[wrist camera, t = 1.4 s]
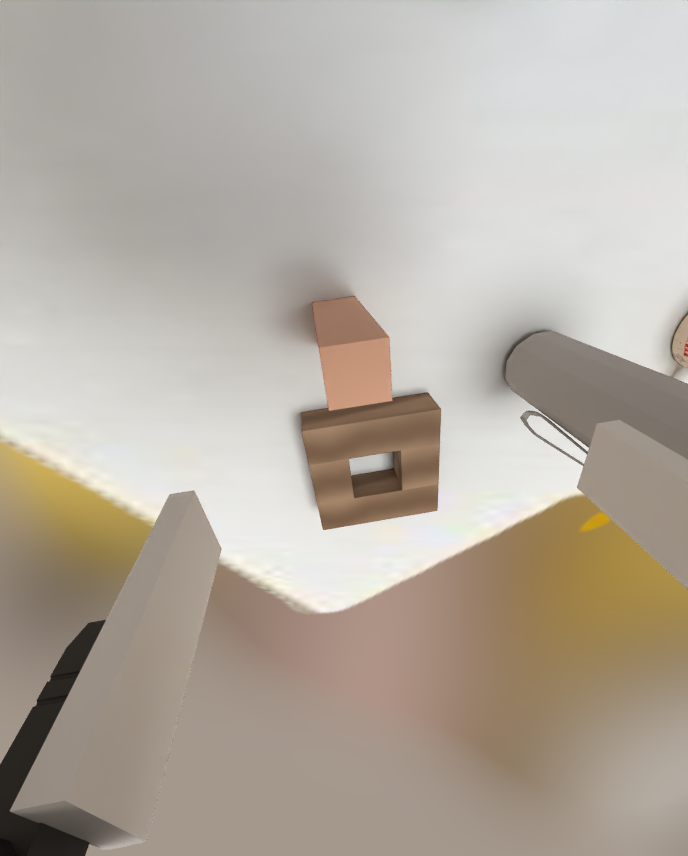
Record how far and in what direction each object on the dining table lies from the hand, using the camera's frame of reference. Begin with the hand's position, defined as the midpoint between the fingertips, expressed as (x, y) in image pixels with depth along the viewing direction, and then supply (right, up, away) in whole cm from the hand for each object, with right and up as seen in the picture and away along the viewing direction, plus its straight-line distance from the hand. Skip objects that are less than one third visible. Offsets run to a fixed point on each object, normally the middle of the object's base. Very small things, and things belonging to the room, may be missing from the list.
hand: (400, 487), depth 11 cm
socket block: (+1, -1, +29) cm, 29 cm away
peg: (-3, +12, +20) cm, 24 cm away
